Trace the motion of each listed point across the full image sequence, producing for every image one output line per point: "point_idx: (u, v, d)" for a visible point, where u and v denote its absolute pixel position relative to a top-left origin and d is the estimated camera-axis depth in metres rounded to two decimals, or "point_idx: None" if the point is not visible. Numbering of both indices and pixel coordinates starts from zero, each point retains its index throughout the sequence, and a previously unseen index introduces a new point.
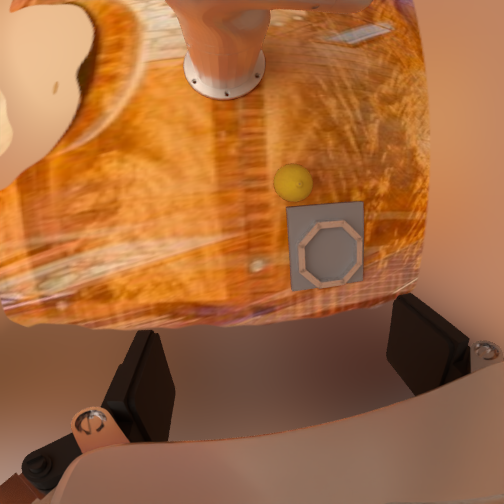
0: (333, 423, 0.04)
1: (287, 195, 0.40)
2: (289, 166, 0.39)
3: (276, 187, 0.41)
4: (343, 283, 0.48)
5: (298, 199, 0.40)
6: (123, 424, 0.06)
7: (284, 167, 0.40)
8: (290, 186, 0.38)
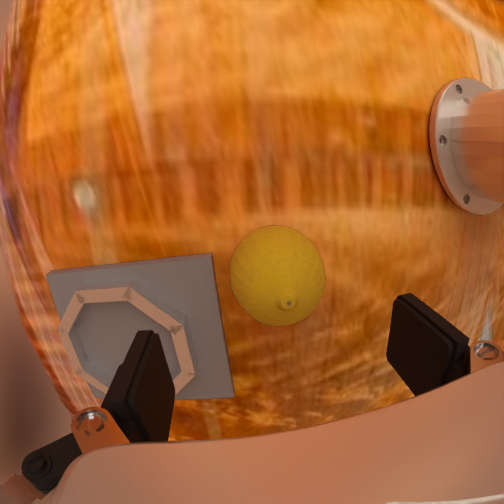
0: (333, 423, 0.04)
1: (249, 267, 0.15)
2: (323, 267, 0.16)
3: (268, 234, 0.16)
4: (77, 372, 0.21)
5: (240, 295, 0.15)
6: (123, 424, 0.06)
7: (318, 253, 0.16)
8: (281, 277, 0.14)
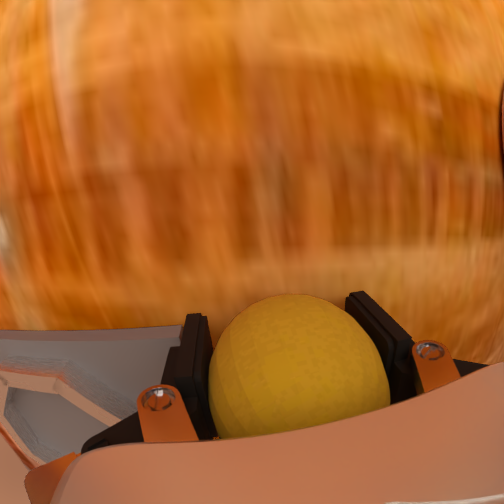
0: (333, 423, 0.04)
1: (247, 417, 0.06)
2: (388, 384, 0.07)
3: (285, 334, 0.07)
4: (26, 453, 0.11)
5: None
6: (187, 400, 0.07)
7: (379, 357, 0.07)
8: None
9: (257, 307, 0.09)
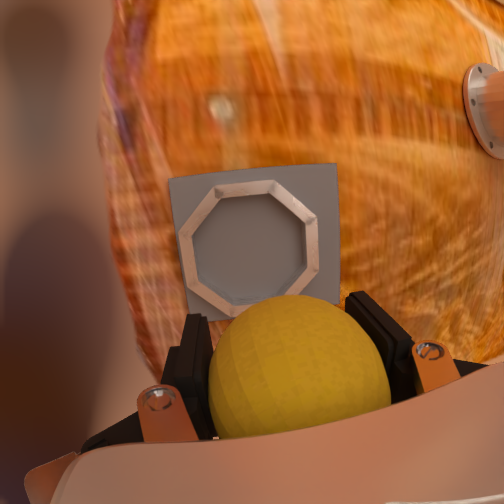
0: (333, 423, 0.04)
1: (247, 419, 0.06)
2: None
3: (285, 336, 0.07)
4: (189, 284, 0.24)
5: None
6: (187, 400, 0.07)
7: (380, 359, 0.07)
8: None
9: (257, 308, 0.09)
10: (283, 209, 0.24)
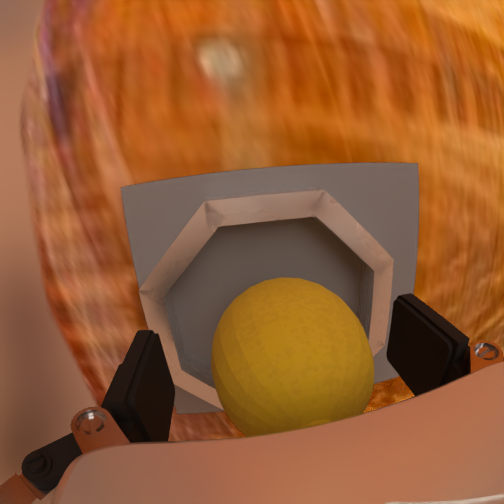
0: (333, 423, 0.04)
1: (246, 378, 0.07)
2: None
3: (279, 308, 0.08)
4: None
5: (230, 414, 0.08)
6: (123, 424, 0.06)
7: (364, 332, 0.09)
8: (308, 402, 0.06)
9: (255, 288, 0.10)
10: (333, 243, 0.13)
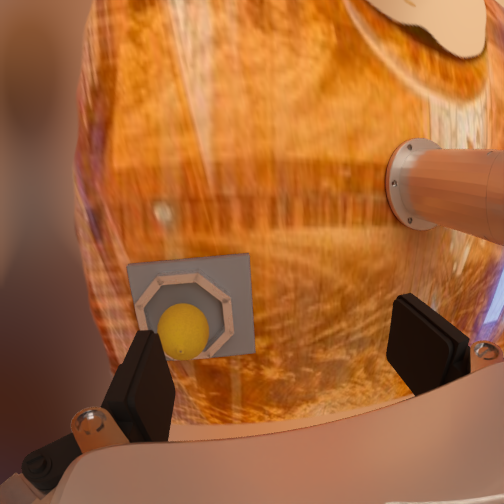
0: (333, 423, 0.04)
1: (163, 331, 0.27)
2: (205, 331, 0.29)
3: (174, 313, 0.28)
4: None
5: None
6: (123, 424, 0.06)
7: (203, 323, 0.29)
8: (176, 338, 0.26)
9: (171, 306, 0.30)
10: None
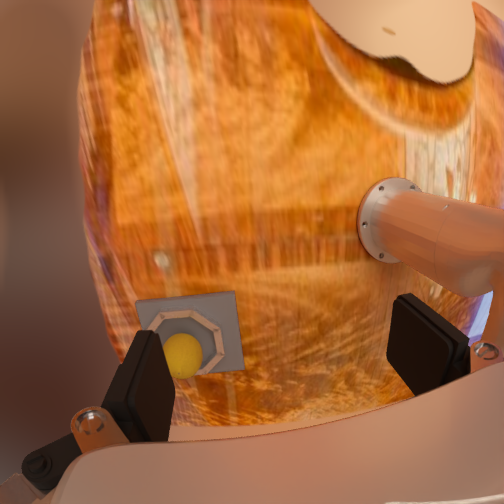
0: (333, 423, 0.04)
1: None
2: (198, 357, 0.35)
3: (173, 343, 0.35)
4: None
5: None
6: (123, 424, 0.06)
7: (196, 350, 0.36)
8: (175, 363, 0.33)
9: (172, 336, 0.37)
10: None
